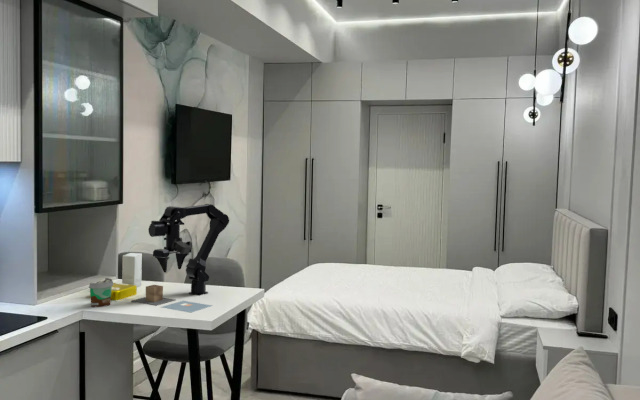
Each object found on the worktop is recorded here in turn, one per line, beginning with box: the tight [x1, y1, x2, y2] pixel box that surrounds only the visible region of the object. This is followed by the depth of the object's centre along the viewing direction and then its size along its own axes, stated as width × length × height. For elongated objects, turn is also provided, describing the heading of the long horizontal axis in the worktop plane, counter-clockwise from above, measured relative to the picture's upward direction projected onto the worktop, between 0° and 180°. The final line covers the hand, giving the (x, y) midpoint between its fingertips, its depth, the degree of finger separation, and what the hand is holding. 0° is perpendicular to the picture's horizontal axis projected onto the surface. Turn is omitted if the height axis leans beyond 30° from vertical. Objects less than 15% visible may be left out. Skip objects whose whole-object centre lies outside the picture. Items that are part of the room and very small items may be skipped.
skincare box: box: [121, 252, 143, 288], centre depth 278 cm, size 8×7×16 cm
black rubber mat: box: [131, 296, 176, 307], centre depth 251 cm, size 12×14×1 cm
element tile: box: [90, 282, 138, 301], centre depth 259 cm, size 15×15×5 cm
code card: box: [161, 300, 213, 313], centre depth 243 cm, size 14×16×1 cm
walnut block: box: [145, 284, 164, 302], centre depth 251 cm, size 5×5×6 cm
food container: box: [88, 277, 114, 308], centre depth 242 cm, size 12×6×10 cm, turn 168°
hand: (172, 270), depth 257 cm, fingers open, 9 cm apart
